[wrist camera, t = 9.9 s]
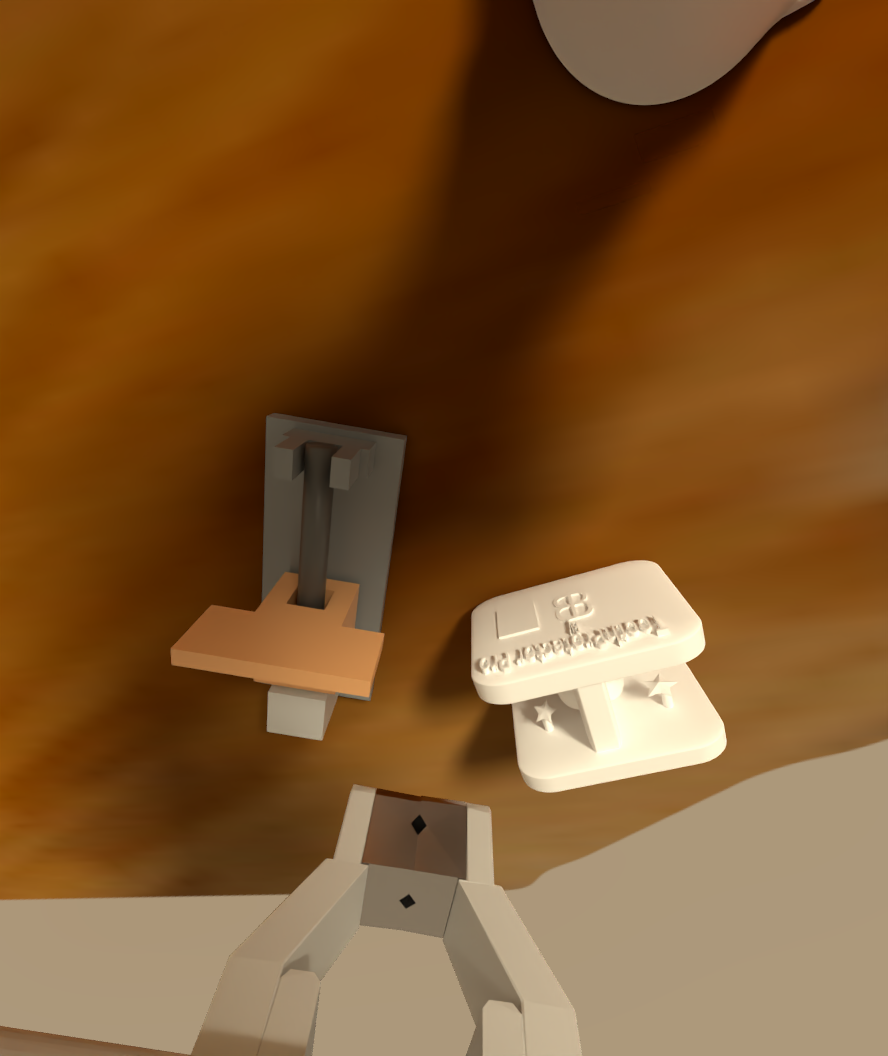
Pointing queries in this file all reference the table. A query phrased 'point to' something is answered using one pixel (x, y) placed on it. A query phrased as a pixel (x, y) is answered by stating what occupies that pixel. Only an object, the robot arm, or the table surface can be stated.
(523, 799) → the table surface
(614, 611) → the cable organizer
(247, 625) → the orange piece
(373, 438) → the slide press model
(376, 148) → the table surface
